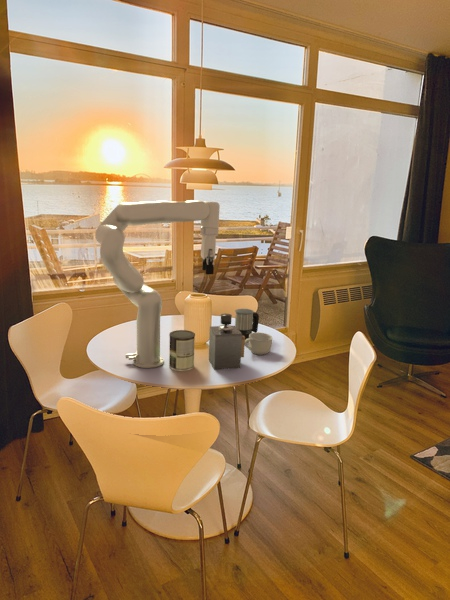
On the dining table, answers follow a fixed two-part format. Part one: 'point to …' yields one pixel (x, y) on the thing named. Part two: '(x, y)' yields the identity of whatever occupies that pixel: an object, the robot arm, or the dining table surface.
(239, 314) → the milk frother
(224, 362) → the gray box
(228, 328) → the plunger
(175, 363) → the coffee can
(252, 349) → the teacup
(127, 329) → the dining table surface
